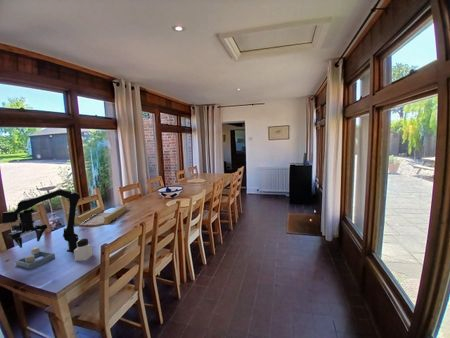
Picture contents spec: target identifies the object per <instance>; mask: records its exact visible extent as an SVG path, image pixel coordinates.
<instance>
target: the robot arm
mask: <svg viewBox="0 0 450 338" xmlns="http://www.w3.org/2000/svg"><path fill="white" fill-rule="evenodd" d="M59 196H60V197H63V198H66V199H68V200H69V201H68V202H69V203H68V204H69V209H68V212H69V216H68V224H67V223H66V224H67V225H66V227H65V228H63V233H62V238H63V239H64V241H66V242H67V243H68V244H67V247H68V249H66V251H67V252H70V253H74V250H75V249H76V248H77V241H78V240H80V239H79V235H78V234H77V233H75V224H74V220H75V216H76V215H75V214H76V210H77V205H78V203H79V200H80V194H79V192H77V191H69V190H67V189H66V190H65V189H63V188H58V189H56V190H54V191H50V192H47V193H44V194H41V195H39V196H36V197H29V198H25V199H22V200H20V201H19V202H18V203H17V208H16V209H14V210H11V211H3V212H2V214H1V215H2V216H1V222H2V224H3V225H5V224H12V223H16V222H17V221H20V222H18V225H17V224H13V225H11V231H12V232H10V233H7V235H6V239H8V240H13V241H14V242H15V243H16V244H17V246H18V247H19V248H21V249H22V248H23V239H22V235H26V234H28V233H32V232H33V231H34V232H35V235H36V241H37V243H38V242H40V240H41V238H42V236H43V234H44V232H45V231H46V229H48V224H46V223H39V224H34V223H35V220H34V218H33V213H36V211H37V210H36V209H35V208H33V207H34V206H36V205H37V204H40V203H43V202H46V201H48V200H51V199H54V198H56V197H59Z"/></svg>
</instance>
